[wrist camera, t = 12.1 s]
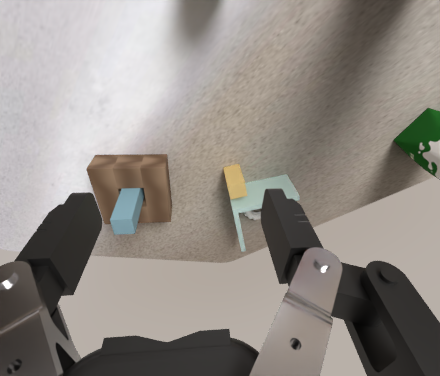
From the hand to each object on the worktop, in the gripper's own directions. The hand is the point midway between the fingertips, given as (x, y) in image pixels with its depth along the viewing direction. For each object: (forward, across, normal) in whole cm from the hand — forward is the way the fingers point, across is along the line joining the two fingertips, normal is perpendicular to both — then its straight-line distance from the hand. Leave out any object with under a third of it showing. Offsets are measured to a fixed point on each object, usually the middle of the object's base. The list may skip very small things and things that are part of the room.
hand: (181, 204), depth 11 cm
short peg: (+29, -7, +17) cm, 35 cm away
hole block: (+29, +11, +19) cm, 36 cm away
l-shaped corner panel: (+30, -14, +25) cm, 42 cm away
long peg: (+29, +11, +19) cm, 36 cm away
